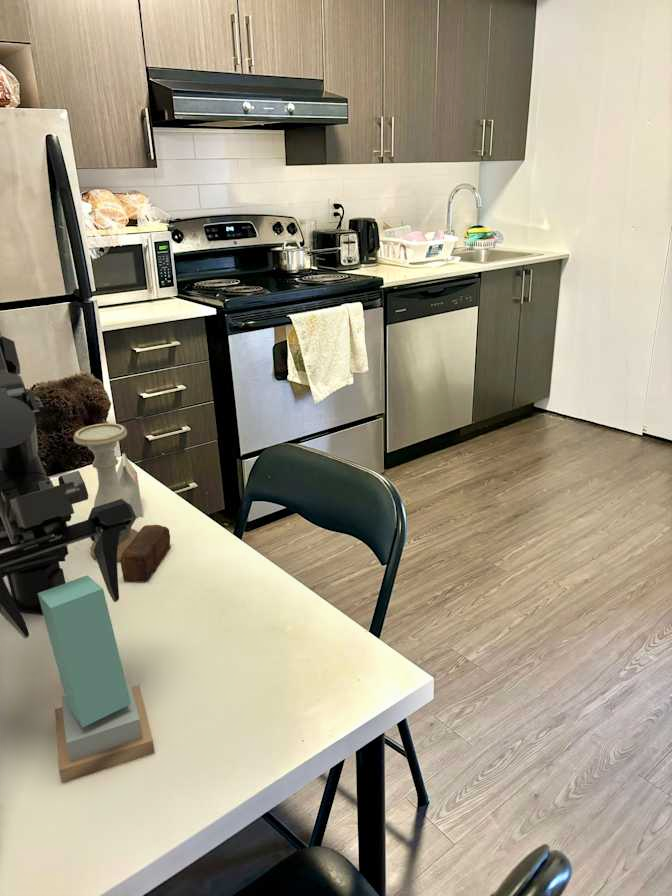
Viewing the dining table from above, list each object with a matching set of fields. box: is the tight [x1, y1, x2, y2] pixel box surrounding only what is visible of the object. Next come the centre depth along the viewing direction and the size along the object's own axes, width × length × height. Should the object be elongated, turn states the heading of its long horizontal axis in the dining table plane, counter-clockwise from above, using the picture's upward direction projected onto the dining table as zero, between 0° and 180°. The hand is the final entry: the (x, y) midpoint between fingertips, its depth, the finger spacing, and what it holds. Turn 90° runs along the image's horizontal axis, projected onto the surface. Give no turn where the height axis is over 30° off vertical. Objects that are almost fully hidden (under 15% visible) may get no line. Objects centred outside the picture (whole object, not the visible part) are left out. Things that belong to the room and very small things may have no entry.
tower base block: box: [54, 684, 155, 784], centre depth 72 cm, size 9×9×2 cm
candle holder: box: [73, 422, 139, 563], centre depth 105 cm, size 9×9×20 cm
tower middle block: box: [61, 676, 143, 762], centre depth 71 cm, size 7×7×2 cm
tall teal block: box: [38, 575, 131, 728], centre depth 68 cm, size 5×5×13 cm
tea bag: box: [116, 452, 144, 519], centre depth 120 cm, size 4×7×10 cm, turn 17°
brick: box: [119, 524, 171, 583], centre depth 104 cm, size 11×4×5 cm, turn 174°
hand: (73, 618), depth 69 cm, fingers open, 9 cm apart
